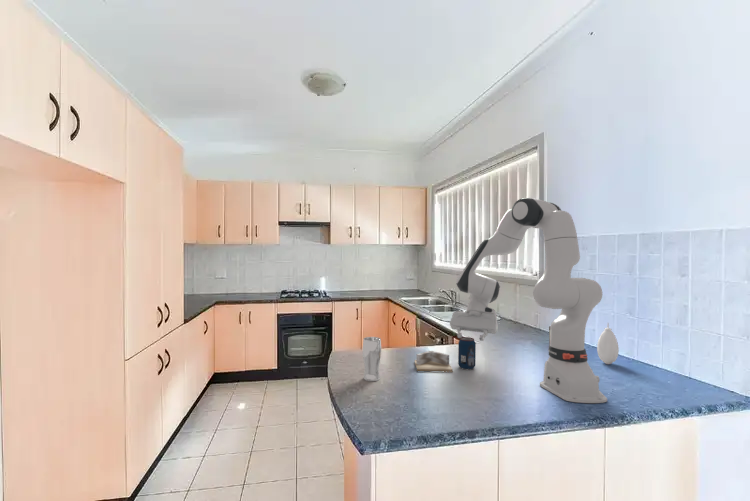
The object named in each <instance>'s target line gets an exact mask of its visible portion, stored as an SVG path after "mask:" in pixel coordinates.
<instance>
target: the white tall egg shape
mask: <svg viewBox="0 0 750 501" xmlns="http://www.w3.org/2000/svg"><path fill="white" fill-rule="evenodd" d="M609 326H610V325H609V322H607V327H605V328H604V330H603V331H602V332H601V333H600V335H599V338H598V340H597V344H596V345H597V346H596V350H597V356H598V357H599V359H600V361H602V363H605V365H611V364H613V363H615V362H616V361H617V359H618V356H619V351H620V350H619V349H620V347H619V344H618V340H617V338H616V335H615V333H614V332H613V330H612V328H610V327H609Z"/></svg>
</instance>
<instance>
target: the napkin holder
mask: <svg viewBox="0 0 750 501" xmlns="http://www.w3.org/2000/svg"><path fill="white" fill-rule="evenodd" d="M415 358H416V359H414V364H415V368H417V369H416V372H417V371H444V372H443V373H453V370H454V369H453V367H452V366H451V364H450V354H447V353H444V352H440V351H435V350H428V351H424V352H420V353H417V354H416V357H415ZM446 371H447V372H446ZM449 371H450V372H449Z"/></svg>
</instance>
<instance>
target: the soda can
mask: <svg viewBox="0 0 750 501" xmlns="http://www.w3.org/2000/svg"><path fill="white" fill-rule="evenodd" d="M457 344H458V345H457V346H458V352H457V353H458V355H457V358H458V359H457V360H458V362H457V364H458V366H459V368H460V369H462V368H463V369H462V370H466V369H471V370H474V369H475V368H476V355H477V354H476V349H477V348H476V345H477V343H476V341H475V338H474V337H470V336H469V337H468V336H464V337H463V336H462V337H461V338H459V341H458V343H457ZM473 368H474V369H473Z"/></svg>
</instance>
